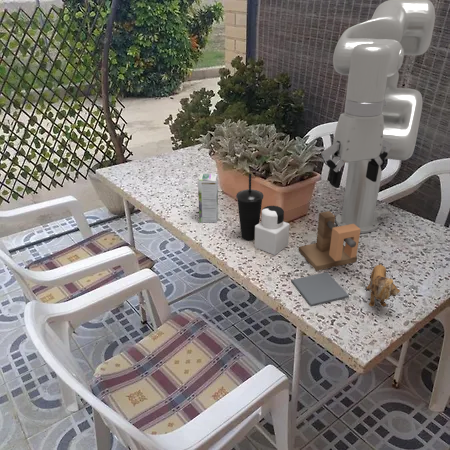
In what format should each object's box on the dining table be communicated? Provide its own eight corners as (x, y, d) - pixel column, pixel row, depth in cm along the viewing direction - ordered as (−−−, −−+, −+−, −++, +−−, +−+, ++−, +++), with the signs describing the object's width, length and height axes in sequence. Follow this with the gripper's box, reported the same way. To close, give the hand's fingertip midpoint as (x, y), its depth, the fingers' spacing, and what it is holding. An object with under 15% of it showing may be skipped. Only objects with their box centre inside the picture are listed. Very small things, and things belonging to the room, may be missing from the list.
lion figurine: (396, 318, 93) (403, 285, 89) (371, 316, 94) (377, 284, 89) (381, 278, 106) (387, 248, 102) (359, 277, 106) (364, 247, 102)
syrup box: (200, 214, 138) (198, 173, 131) (218, 214, 137) (217, 173, 130) (199, 222, 133) (196, 180, 126) (218, 222, 132) (216, 180, 125)
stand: (336, 243, 121) (341, 205, 115) (368, 273, 108) (375, 233, 102) (298, 251, 117) (301, 213, 111) (327, 283, 105) (332, 242, 99)
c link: (349, 250, 109) (353, 223, 105) (356, 256, 106) (360, 229, 102) (329, 254, 107) (332, 227, 103) (335, 261, 105) (339, 233, 101)
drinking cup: (247, 246, 120) (247, 182, 110) (231, 235, 125) (230, 173, 116) (267, 237, 124) (269, 174, 114) (251, 227, 129) (252, 166, 120)
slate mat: (326, 273, 108) (327, 271, 108) (348, 297, 100) (348, 295, 99) (291, 281, 105) (291, 279, 105) (310, 306, 97) (311, 304, 97)
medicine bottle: (268, 237, 124) (269, 200, 118) (288, 245, 120) (291, 207, 114) (253, 247, 120) (254, 210, 114) (274, 256, 116) (276, 217, 110)
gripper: (386, 100, 94) (375, 171, 102) (317, 107, 89) (311, 182, 98) (409, 107, 87) (395, 183, 96) (336, 116, 83) (327, 195, 91)
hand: (352, 182), depth 97 cm, fingers open, 9 cm apart
